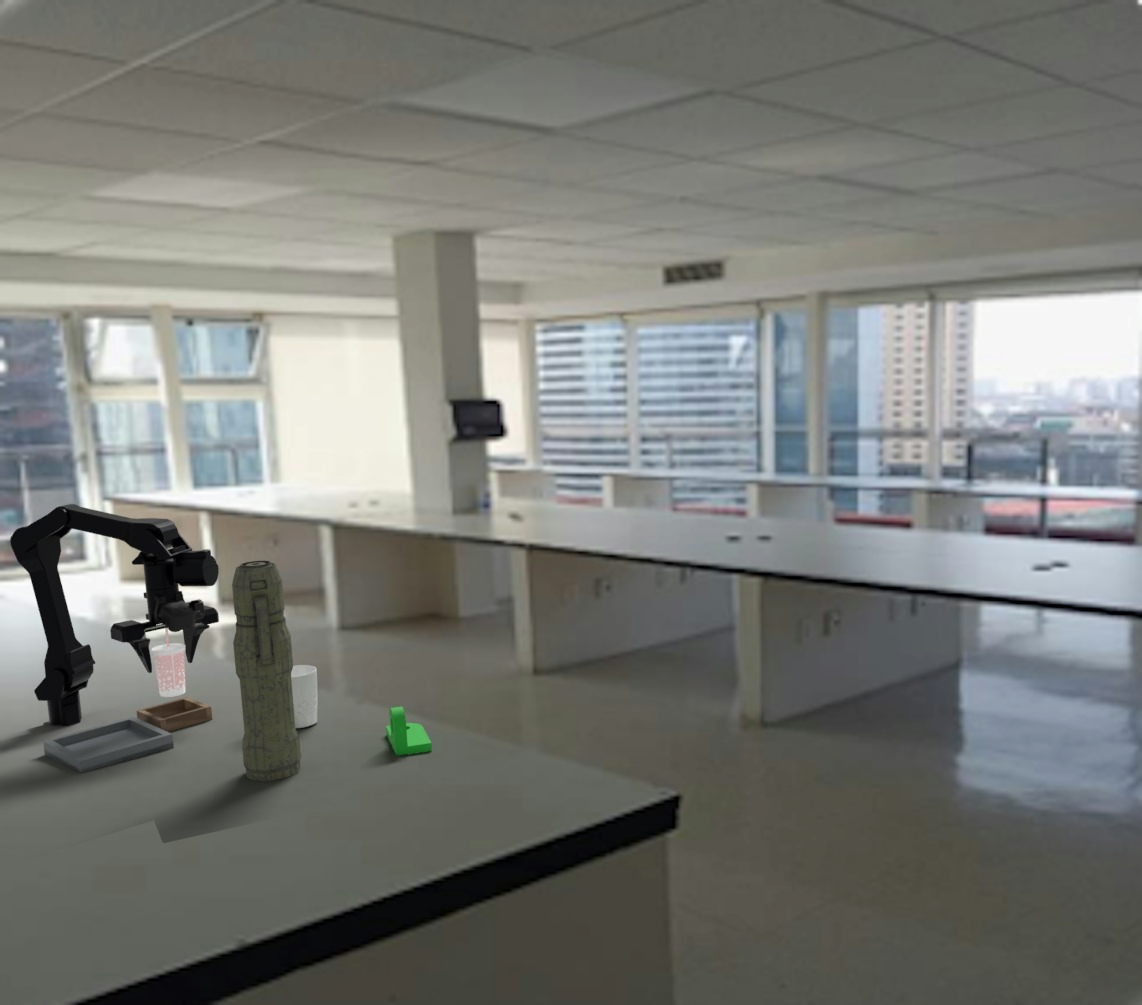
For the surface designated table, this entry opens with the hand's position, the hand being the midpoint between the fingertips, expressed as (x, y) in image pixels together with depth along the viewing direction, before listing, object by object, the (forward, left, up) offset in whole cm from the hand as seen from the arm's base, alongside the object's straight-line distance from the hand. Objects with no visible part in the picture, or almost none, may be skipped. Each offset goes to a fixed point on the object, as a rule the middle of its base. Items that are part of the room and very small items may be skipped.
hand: (170, 667), depth 197 cm
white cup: (+21, +14, -11) cm, 27 cm away
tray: (+6, -15, -11) cm, 19 cm away
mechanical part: (+47, +19, -11) cm, 52 cm away
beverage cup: (0, 0, -5) cm, 5 cm away
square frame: (0, 0, -11) cm, 11 cm away
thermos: (+41, -3, -11) cm, 43 cm away
